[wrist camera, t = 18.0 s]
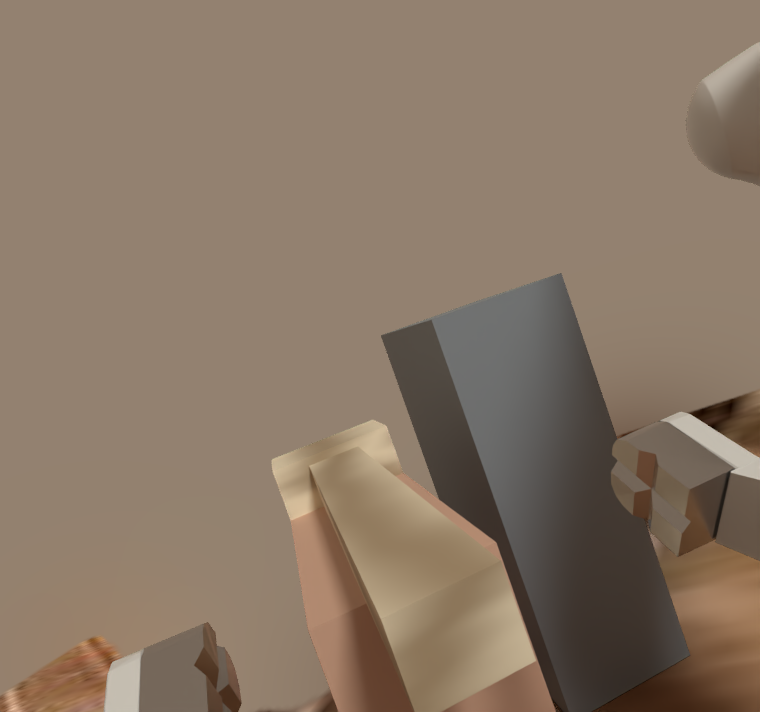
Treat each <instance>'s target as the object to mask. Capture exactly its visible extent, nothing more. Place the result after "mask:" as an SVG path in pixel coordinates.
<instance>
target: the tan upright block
mask: <svg viewBox="0 0 760 712" xmlns="http://www.w3.org/2000/svg"><path fill="white" fill-rule="evenodd" d="M396 477H397V478H398V479H399V480H401V481H402V482H403V483H404V484H406V485H407V486H408V487H409V488H411V489H412V490H413V491H414V492H416V493H417V494H418V495H419V496H421V497H422V498H423V499H424V500H426V501H427V502H428V503H429V504H431V505H432V506H433V507H434V508H436V509H437V510H438V511H439V512H441V513H442V514H443V515H444V516H446V517H447V518H448V519H449V520H451V521H452V522H453V523H454V524H456V525H457V526H458V527H459V528H461V529H462V530H463V531H464V532H466V533H467V534H468V535H469V536H471V537H472V538H473V539H474V540H476V541H477V542H478V543H479V544H481V545H482V546H483V547H484V548H486V549H487V550H488V551H489V552H491V553H492V554H493V555H494V556H496V557H497V558H498V559H499V560H501V562H502V565H503V568H504V571H505V574H506V577H507V579H508V582H509V585H510V588H511V591H512V594H513V596H514V599H515V602H516V605H517V608H518V611H519V613H520V616H521V619H522V622H523V625H524V628H525V631H526V633H527V636H528V639H529V642H530V645H531V648H532V650H533V653H534V656H535V659H536V661H535V662H533V663H531V664H529V665H527V666H525V667H524V668H522V669H520V670H518V671H516V672H514V673H512V674H511V675H509V676H507V677H505V678H503V679H501V680H499V681H498V682H496V683H494V684H492V685H490V686H488V687H486V688H485V689H483V690H481V691H479V692H477V693H475V694H473V695H472V696H470V697H468V698H466V699H464V700H462V701H460V702H459V703H457V704H455V705H453V706H451V707H449V708H447V709H446V710H444V711H442V712H556V711H555V708H554V705H553V702H552V700H551V697H550V694H549V691H548V688H547V685H546V682H545V680H544V677H543V674H542V671H541V668H540V665H539V663H538V660H537V657H536V654H535V651H534V648H533V646H532V643H531V640H530V637H529V634H528V631H527V628H526V626H525V623H524V620H523V617H522V614H521V611H520V609H519V606H518V603H517V600H516V597H515V594H514V592H513V589H512V586H511V583H510V580H509V577H508V574H507V572H506V569H505V566H504V563H503V560H502V557H501V555H500V552H499V549H498V546H497V543H496V542H495V541H494V540H493V539H491V538H490V537H488V536H487V535H486V534H484V533H483V532H482V531H480V530H479V529H478V528H476V527H475V526H474V525H472V524H471V523H470V522H468V521H467V520H466V519H464V518H463V517H462V516H460V515H459V514H458V513H456V512H455V511H454V510H452V509H451V508H450V507H448V506H447V505H446V504H444V503H443V502H442V501H440V500H439V499H437V498H436V497H435V496H433V495H432V494H431V493H429V492H428V491H427V490H425V489H424V488H423V487H421V486H420V485H419V484H417V483H416V482H415V481H413V480H412V479H411V478H409V477H408V476H407V475H405V474H404V473H402V474H400V475H397V476H396ZM291 524H292V531H293V537H294V544H295V549H296V556H297V562H298V569H299V575H300V582H301V588H302V594H303V600H304V607H305V613H306V619H307V626H308V631H309V634H310V637H311V639H312V642H313V645H314V648H315V650H316V653H317V655H318V658H319V661H320V664H321V666H322V669H323V672H324V674H325V677H326V680H327V682H328V685H329V688H330V691H331V693H332V696H333V699H334V701H335V704H336V707H337V709H338V712H414V711H413V709H412V706H411V704H410V702H409V700H408V697H407V695H406V693H405V690H404V688H403V686H402V684H401V681H400V679H399V677H398V674H397V672H396V670H395V668H394V665H393V663H392V661H391V658H390V656H389V654H388V652H387V649H386V647H385V645H384V642H383V640H382V638H381V636H380V633H379V631H378V629H377V626H376V624H375V622H374V620H373V617H372V615H371V613H370V610H369V608H368V606H367V604H366V601H365V599H364V597H363V594H362V592H361V590H360V588H359V585H358V583H357V581H356V578H355V576H354V574H353V572H352V569H351V567H350V565H349V562H348V560H347V558H346V556H345V553H344V551H343V549H342V546H341V544H340V542H339V540H338V537H337V535H336V533H335V530H334V528H333V526H332V524H331V521H330V519H329V517H328V514H327V512H326V510H325V508H324V507H322V508H319V509H317V510H315V511H312V512H310V513H307V514H305V515H303V516H300V517H298V518H296V519H293V520H291Z"/></svg>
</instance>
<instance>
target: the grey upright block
mask: <svg viewBox="0 0 760 712" xmlns="http://www.w3.org/2000/svg"><path fill="white" fill-rule="evenodd" d="M381 337H382V340H383V343H384V346H385V348H386V351H387V354H388V357H389V360H390V362H391V365H392V368H393V371H394V373H395V376H396V379H397V382H398V385H399V388H400V391H401V393H402V396H403V399H404V402H405V405H406V407H407V410H408V413H409V415H410V419H411V421H412V424H413V427H414V430H415V433H416V435H417V438H418V441H419V444H420V447H421V449H422V452H423V455H424V458H425V461H426V463H427V466H428V469H429V472H430V475H431V478H432V480H433V483H434V486H435V489H436V492H437V494H438V497H439V500H440V501H442V502H443V503H444V504H446V505H447V506H448V507H450V508H451V509H452V510H454V511H455V512H456V513H458V514H459V515H460V516H462V517H463V518H464V519H466V520H467V521H468V522H470V523H471V524H472V525H474V526H475V527H476V528H478V529H479V530H480V531H482V532H483V533H484V534H486V535H487V536H488V537H490V538H491V539H493V540H494V541H495V542H496V543H497V546H498V549H499V552H500V555H501V557H502V560H503V563H504V566H505V569H506V572H507V574H508V577H509V580H510V583H511V586H512V589H513V592H514V594H515V597H516V600H517V603H518V606H519V609H520V611H521V614H522V617H523V620H524V623H525V626H526V628H527V631H528V634H529V637H530V640H531V643H532V646H533V648H534V651H535V654H536V657H537V660H538V663H539V665H540V668H541V671H542V674H543V677H544V680H545V682H546V685H547V688H548V691H549V694H550V697H551V698H552V699H553V700H554V702H555V703H556V704H557V705H558V706H559V707H560V708H561V710H562V711H563V712H592V711H593V710H595V709H597V708H599V707H600V706H602V705H604V704H606V703H607V702H609V701H611V700H613V699H614V698H616V697H618V696H620V695H621V694H623V693H625V692H627V691H628V690H630V689H632V688H634V687H635V686H637V685H639V684H641V683H642V682H644V681H646V680H648V679H649V678H651V677H653V676H655V675H656V674H658V673H660V672H662V671H663V670H665V669H667V668H669V667H670V666H672V665H674V664H676V663H677V662H679V661H681V660H683V659H684V658H686V657H688V656H690V653H689V650H688V647H687V644H686V641H685V638H684V635H683V633H682V630H681V627H680V624H679V621H678V618H677V615H676V612H675V609H674V606H673V603H672V600H671V597H670V594H669V591H668V588H667V585H666V582H665V579H664V576H663V573H662V570H661V567H660V564H659V561H658V558H657V555H656V552H655V550H654V547H653V544H652V541H651V538H650V535H649V532H648V529H647V526H646V523H645V520H644V519H643V518H640V517H637V516H634V515H632V514H631V513H630V512H629V511H628V510H627V509H626V508H625V507H624V506H623V505H622V504H621V502H620V501H619V500H618V498H617V497H616V495H615V492H614V490H613V487H612V485H611V471H612V469H613V467H614V466H615V464H616V462H617V461H618V460H617V459H616V458H615V457H614V456H612V448H613V444H614V443H615V441H616V440H617V437H616V434H615V431H614V428H613V425H612V422H611V419H610V416H609V413H608V410H607V407H606V404H605V401H604V398H603V395H602V392H601V390H600V387H599V384H598V381H597V378H596V375H595V372H594V369H593V366H592V363H591V360H590V357H589V354H588V351H587V348H586V345H585V342H584V339H583V336H582V333H581V330H580V327H579V324H578V321H577V318H576V315H575V312H574V310H573V307H572V304H571V301H570V298H569V295H568V292H567V289H566V286H565V283H564V280H563V277H562V274H561V273H560V274H557V275H554V276H551V277H548V278H545V279H542V280H539V281H536V282H533V283H530V284H527V285H524V286H521V287H518V288H515V289H512V290H509V291H506V292H503V293H500V294H497V295H494V296H491V297H488V298H485V299H482V300H479V301H476V302H473V303H470V304H468V305H465V306H462V307H459V308H456V309H454V310H451V311H448V312H446V313H443V314H440V315H437V316H434V317H431V318H429V319H426V320H423V321H420V322H417V323H415V324H412V325H409V326H407V327H403V328H401V329H398V330H396V331H393V332H390V333H387V334H384V335H382V336H381Z"/></svg>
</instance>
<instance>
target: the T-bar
mask: <svg viewBox="0 0 760 712" xmlns="http://www.w3.org/2000/svg"><path fill="white" fill-rule="evenodd" d="M272 471H273V474H274V477H275V479H276V482H277V485H278V487H279V490H280V493H281V495H282V498H283V501H284V504H285V506H286V509H287V512H288V514H289V517H290V520H293V519H296V518H298V517H300V516H303V515H305V514H307V513H310V512H312V511H315V510H317V509H319V508H322V507H324V508H325V510H326V512H327V514H328V517H329V519H330V521H331V524H332V526H333V528H334V530H335V533H336V535H337V537H338V540H339V542H340V544H341V546H342V549H343V551H344V553H345V556H346V558H347V560H348V562H349V565H350V567H351V569H352V572H353V574H354V576H355V578H356V581H357V583H358V585H359V588H360V590H361V592H362V594H363V597H364V599H365V601H366V604H367V606H368V608H369V610H370V613H371V615H372V617H373V620H374V622H375V624H376V626H377V629H378V631H379V633H380V636H381V638H382V640H383V642H384V645H385V647H386V649H387V652H388V654H389V656H390V658H391V661H392V663H393V665H394V668H395V670H396V672H397V674H398V677H399V679H400V681H401V684H402V686H403V688H404V690H405V693H406V695H407V697H408V700H409V702H410V704H411V706H412V709H413V711H414V712H442V711H444V710H446V709H447V708H449V707H451V706H453V705H455V704H457V703H459V702H460V701H462V700H464V699H466V698H468V697H470V696H472V695H473V694H475V693H477V692H479V691H481V690H483V689H485V688H486V687H488V686H490V685H492V684H494V683H496V682H498V681H499V680H501V679H503V678H505V677H507V676H509V675H511V674H512V673H514V672H516V671H518V670H520V669H522V668H524V667H525V666H527V665H529V664H531V663H533V662H535V661H536V659H535V656H534V653H533V650H532V648H531V645H530V642H529V639H528V636H527V633H526V631H525V628H524V625H523V622H522V619H521V616H520V613H519V611H518V608H517V605H516V602H515V599H514V596H513V594H512V591H511V588H510V585H509V582H508V579H507V577H506V574H505V571H504V568H503V565H502V562H501V560H499V559H498V558H497V557H496V556H494V555H493V554H492V553H491V552H489V551H488V550H487V549H486V548H484V547H483V546H482V545H481V544H479V543H478V542H477V541H476V540H474V539H473V538H472V537H471V536H469V535H468V534H467V533H466V532H464V531H463V530H462V529H461V528H459V527H458V526H457V525H456V524H454V523H453V522H452V521H451V520H449V519H448V518H447V517H446V516H444V515H443V514H442V513H441V512H439V511H438V510H437V509H436V508H434V507H433V506H432V505H431V504H429V503H428V502H427V501H426V500H424V499H423V498H422V497H421V496H419V495H418V494H417V493H416V492H414V491H413V490H412V489H411V488H409V487H408V486H407V485H406V484H404V483H403V482H402V481H401V480H399V479H398V478H397V477H396V476H397V475H400V474H402V473H403V471H402V468H401V465H400V463H399V460H398V457H397V454H396V451H395V448H394V446H393V443H392V440H391V437H390V435H389V432H388V429H387V426H386V425H384V424H381V423H379V422H377V421H375V420H371V421H368V422H366V423H363V424H361V425H358V426H355V427H353V428H351V429H348V430H345V431H343V432H340V433H338V434H335V435H333V436H330V437H328V438H325V439H323V440H320V441H317V442H315V443H312V444H310V445H308V446H305V447H303V448H300V449H297V450H295V451H292V452H289V453H287V454H284V455H282V456H279V457H277V458H274V459H272Z"/></svg>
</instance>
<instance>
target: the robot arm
mask: <svg viewBox="0 0 760 712" xmlns="http://www.w3.org/2000/svg"><path fill="white" fill-rule="evenodd" d="M686 131H687V138H688V142H689V145H690V147H691V149H692V151H693V153H694V154H695V156H696V157H697V158H698V160H699V161H700V162H701V163H702V164H703V165H704V166H706V167H707V168H708V169H709V170H711V171H713V172H714V173H717V174H719V175H721V176H724V177H727V178H731V179H737V180H742V181H746V182H749V183H753V184H756V185H758V186H760V42H759V43H757V44H755V45H753V46H751V47H750V48H748V49H747V50H745V51H744V52H742V53H741V54H739V55H738V56H736V57H734V58H733V59H731V60H730V61H728V62H727V63H725V64H724V65H723V66H721V67H720V68H718V69H717V70H715V71H714V72H713V73H711V74H710V75H708V76H707V77H706V78H704V79H703V80H701V81H700V83H699V84H698V86H697V88H696V90H695V92H694V94H693V96H692V98H691V101H690V104H689V107H688V111H687V118H686ZM612 456H614V457H615V458H616V459H617V460H618V461H617V462H616V464H615V466H614V467H613V469H612V471H611V485H612V487H613V490H614V492H615V495H616V497H617V498H618V500H619V501H620V502H621V504H622V505H623V506H624V507H625V508H626V509H627V510H628V511H629V512H630V513H631V514H632V515H634V516H637V517H640V518H643V519H646V520H648V523H649V528H650V532H651V533H652V534H653V535H655V536H656V537H657V538H658V539H659V540H660V541H661V542H662V543H663V544H664V545H665V546H666V547H668V548H669V549H670V550H671V551H672V552H673V553H674V554H675V555H676V556H677V557H679V556H681V555H683V554H686V553H688V552H690V551H692V550H694V549H696V548H698V547H700V546H702V545H705V544H707V543H709V542H711V541H713V540H715V539H716V541H715V542H716V543H718V544H721V545H723V546H726V547H728V548H730V549H733V550H735V551H737V552H740V553H742V554H745V555H747V556H749V557H752V558H754V559H756V560H759V561H760V458H758V457H757V456H755V455H754V454H752V453H750V452H749V451H747V450H746V449H744V448H743V447H741V446H739V445H738V444H736V443H735V442H733V441H732V440H730V439H728V438H727V437H725V436H724V435H722V434H720V433H719V432H717V431H716V430H714V429H713V428H711V427H709V426H708V425H706V424H705V423H703V422H702V421H700V420H698V419H697V418H695V417H694V416H692V415H691V414H688V413H685V412H678V413H676V414H673V415H671V416H669V417H667V418H664V419H662V420H660V421H658V422H654V423H652V424H650V425H647V426H645V427H643V428H641V429H639V430H637V431H634V432H632V433H630V434H628V435H626V436H624V437H621V438H619V439H617V440H616V441H615V443H614V444H613V448H612ZM240 706H241V696H240V689H239V684H238V679H237V675H236V672H235V668H234V665H233V663H232V660H231V658H230V656H229V654H228V652H227V651H226V649H225V648H224V647H219V646H217V644H216V635H215V632H214V630H213V629H212V627H211V626H210V625H209V623H208V622H207V623H204V624H202V625H200V626H197V627H195V628H192V629H190V630H188V631H185V632H183V633H180V634H178V635H175V636H173V637H171V638H168V639H166V640H163V641H161V642H158V643H156V644H153V645H151V646H149V647H147V648H144V649H142V650H139V651H137V652H135V653H132V654H130V655H128V656H125V657H123V658H121V659H118V660H116V661H114V662H112V664H111V667H110V669H109V672H108V674H107V683H106V693H105V703H104V712H238V711H239V708H240Z"/></svg>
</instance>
